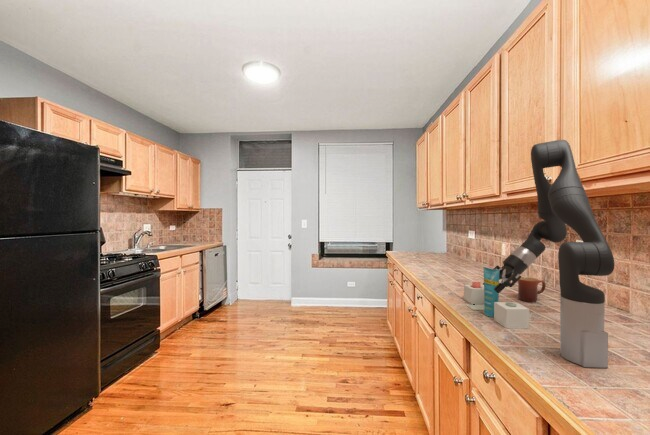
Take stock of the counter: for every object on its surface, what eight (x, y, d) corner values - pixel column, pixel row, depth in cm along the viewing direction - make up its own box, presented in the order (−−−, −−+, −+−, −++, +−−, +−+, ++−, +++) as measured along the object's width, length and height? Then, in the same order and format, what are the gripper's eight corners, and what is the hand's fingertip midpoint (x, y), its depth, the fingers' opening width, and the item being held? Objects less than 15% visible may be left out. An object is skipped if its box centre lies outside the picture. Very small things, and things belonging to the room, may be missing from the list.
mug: (523, 303, 128) (523, 280, 128) (512, 297, 137) (512, 276, 137) (551, 303, 127) (551, 281, 127) (538, 298, 136) (538, 277, 136)
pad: (494, 310, 119) (494, 309, 119) (472, 310, 120) (472, 309, 120) (486, 305, 125) (486, 304, 125) (466, 305, 126) (466, 304, 126)
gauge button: (481, 292, 129) (481, 283, 129) (474, 292, 129) (474, 283, 129) (478, 290, 133) (478, 281, 132) (470, 290, 133) (470, 281, 133)
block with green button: (529, 328, 100) (529, 307, 100) (506, 328, 101) (506, 307, 101) (515, 320, 108) (515, 300, 108) (494, 319, 109) (494, 300, 109)
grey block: (489, 304, 127) (489, 289, 127) (471, 304, 127) (471, 289, 127) (480, 299, 135) (480, 284, 135) (463, 299, 135) (463, 284, 135)
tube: (478, 313, 116) (478, 267, 116) (487, 311, 118) (486, 266, 118) (496, 319, 109) (496, 270, 109) (504, 317, 111) (504, 269, 111)
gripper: (502, 251, 120) (474, 277, 121) (524, 256, 106) (492, 286, 107) (515, 263, 120) (487, 290, 121) (538, 270, 106) (507, 300, 106)
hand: (490, 288), depth 114 cm, fingers open, 8 cm apart
